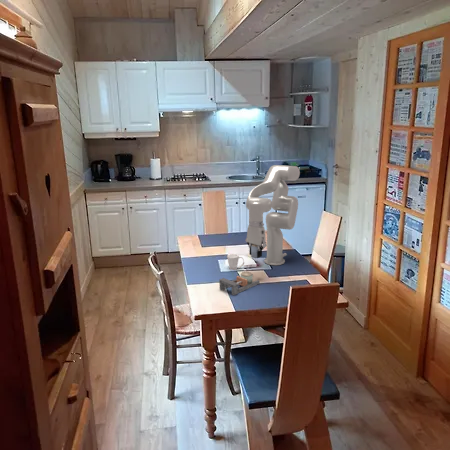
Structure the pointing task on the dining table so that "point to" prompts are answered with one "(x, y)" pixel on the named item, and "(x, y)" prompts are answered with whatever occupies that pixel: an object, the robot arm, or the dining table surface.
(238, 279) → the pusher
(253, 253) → the jar
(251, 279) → the jar resting
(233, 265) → the cup
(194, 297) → the dining table surface
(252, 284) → the lane
